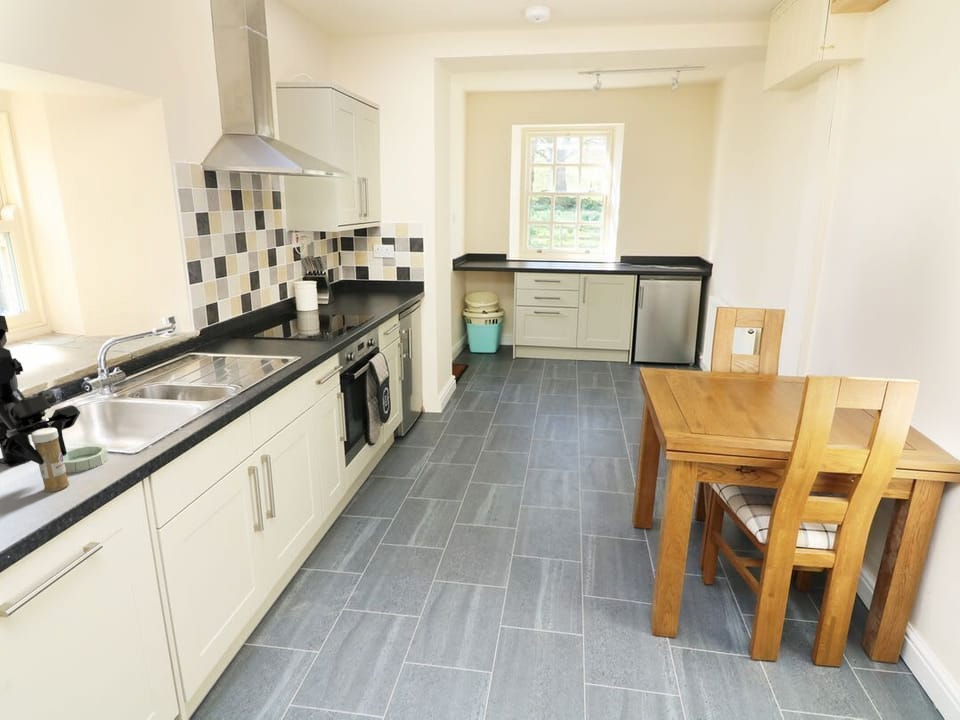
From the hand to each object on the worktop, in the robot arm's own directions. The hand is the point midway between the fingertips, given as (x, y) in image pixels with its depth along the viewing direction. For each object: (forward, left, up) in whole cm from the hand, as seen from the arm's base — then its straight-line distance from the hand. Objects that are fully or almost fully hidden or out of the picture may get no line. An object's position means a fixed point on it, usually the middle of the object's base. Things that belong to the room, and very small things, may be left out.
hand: (54, 458), depth 125 cm
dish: (-9, +10, -7) cm, 15 cm away
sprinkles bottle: (-1, 0, -7) cm, 7 cm away
